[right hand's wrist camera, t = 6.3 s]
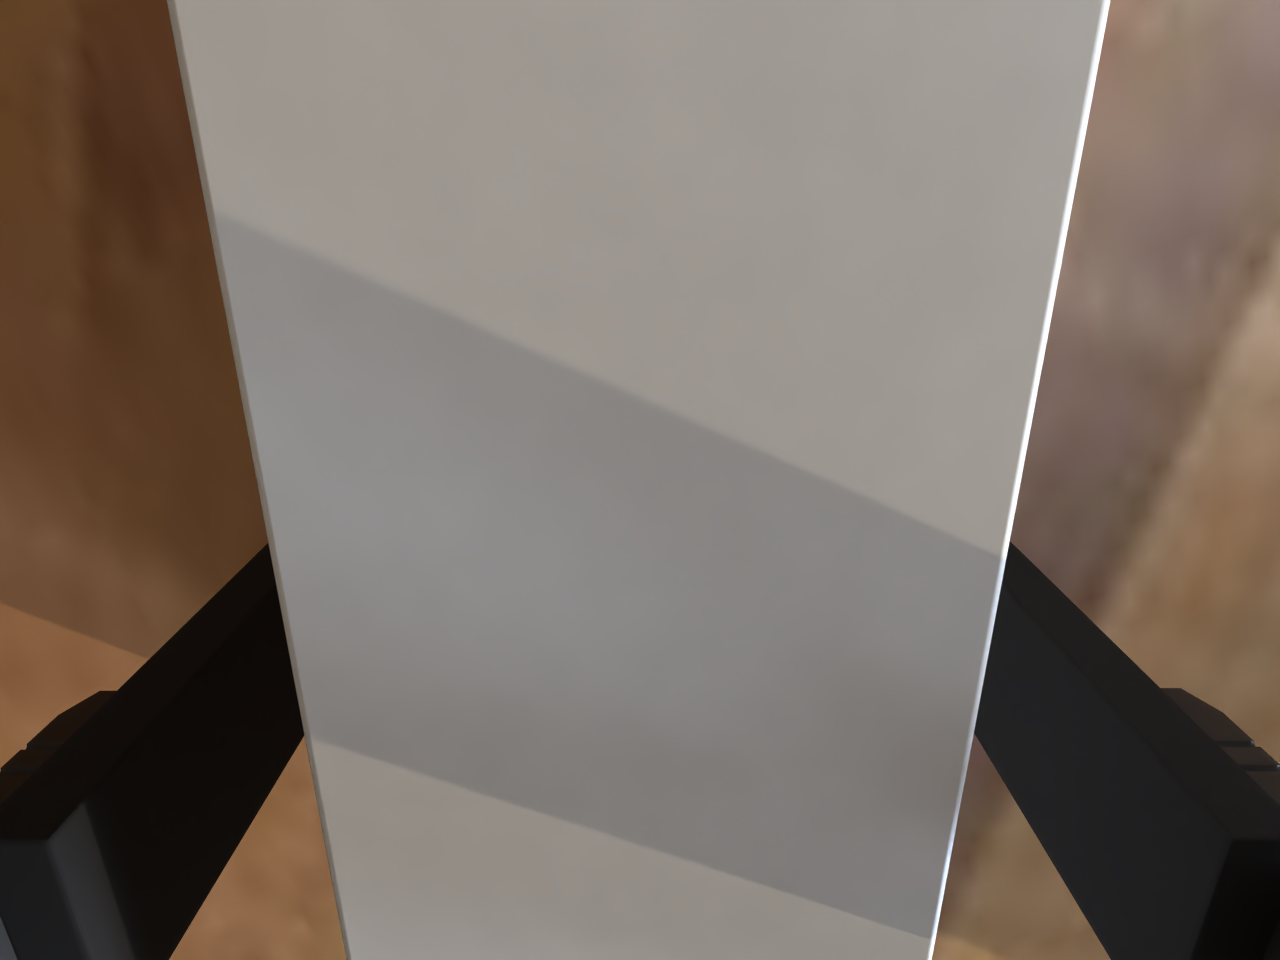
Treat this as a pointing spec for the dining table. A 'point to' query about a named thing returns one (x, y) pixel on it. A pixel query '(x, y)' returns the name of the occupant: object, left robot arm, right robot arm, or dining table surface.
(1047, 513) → the dining table surface
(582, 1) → the bar
